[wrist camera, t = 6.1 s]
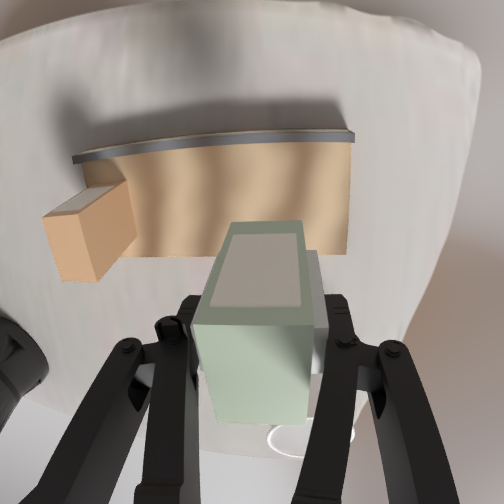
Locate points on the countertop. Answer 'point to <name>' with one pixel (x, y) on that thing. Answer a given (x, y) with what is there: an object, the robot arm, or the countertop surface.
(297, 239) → the carton
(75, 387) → the countertop surface
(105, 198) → the faced carton
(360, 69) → the countertop surface
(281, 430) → the cup
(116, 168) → the wavy tan tray
